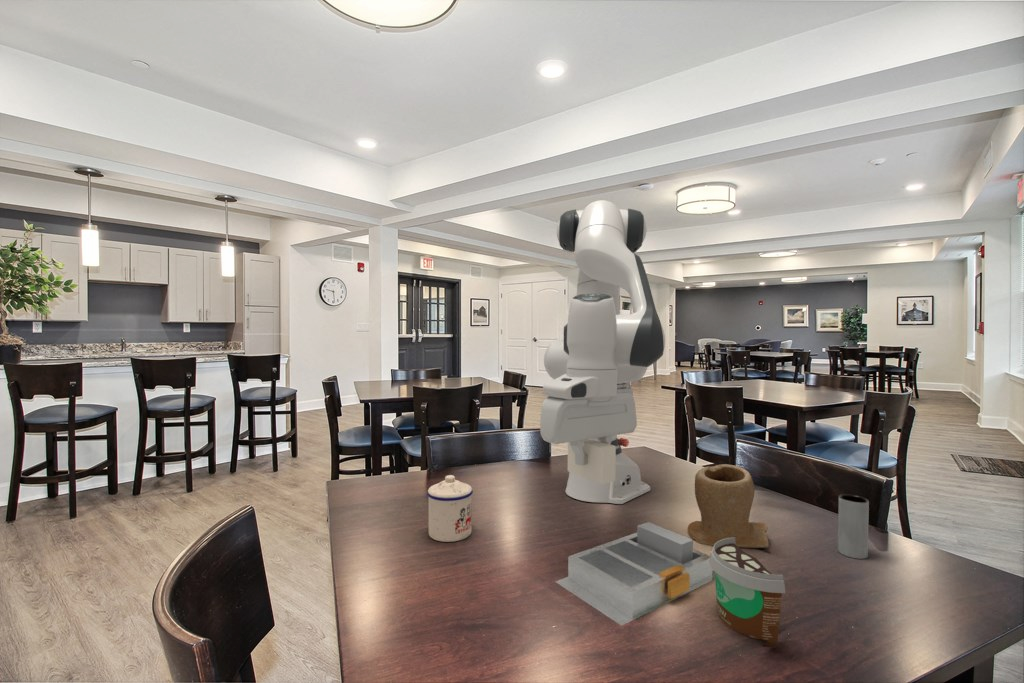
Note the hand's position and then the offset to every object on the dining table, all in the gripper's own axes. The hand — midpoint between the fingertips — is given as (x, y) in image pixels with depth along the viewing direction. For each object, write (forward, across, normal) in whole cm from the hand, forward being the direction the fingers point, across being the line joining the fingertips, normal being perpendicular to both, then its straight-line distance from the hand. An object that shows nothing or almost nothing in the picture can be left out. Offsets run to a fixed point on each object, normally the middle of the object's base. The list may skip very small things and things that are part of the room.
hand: (590, 462), depth 86 cm
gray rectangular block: (+17, -8, +10) cm, 21 cm away
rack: (+18, -2, +10) cm, 20 cm away
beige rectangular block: (+2, 0, 0) cm, 2 cm away
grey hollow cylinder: (+18, -43, +24) cm, 52 cm away
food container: (+18, -4, +25) cm, 31 cm away
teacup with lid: (+18, +14, -26) cm, 34 cm away
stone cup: (+18, -28, +10) cm, 34 cm away
